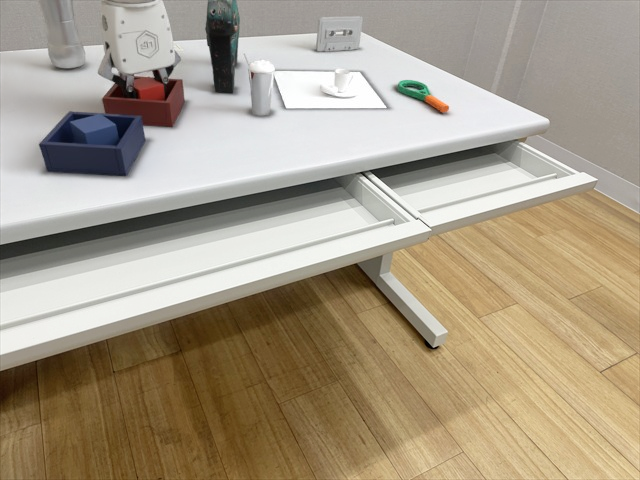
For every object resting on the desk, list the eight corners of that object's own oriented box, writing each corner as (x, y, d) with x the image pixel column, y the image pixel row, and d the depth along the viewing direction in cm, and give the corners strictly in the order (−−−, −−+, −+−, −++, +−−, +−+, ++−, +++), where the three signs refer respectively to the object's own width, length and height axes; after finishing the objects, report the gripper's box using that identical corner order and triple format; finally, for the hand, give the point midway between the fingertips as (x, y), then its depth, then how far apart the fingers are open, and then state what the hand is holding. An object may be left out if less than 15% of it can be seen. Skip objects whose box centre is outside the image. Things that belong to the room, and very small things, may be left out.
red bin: (106, 123, 78) (101, 98, 75) (125, 97, 86) (121, 74, 83) (172, 127, 79) (169, 102, 76) (184, 101, 87) (182, 79, 84)
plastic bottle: (45, 66, 95) (13, -50, 82) (76, 58, 99) (50, -52, 87) (64, 74, 92) (34, -44, 80) (95, 66, 97) (71, -47, 84)
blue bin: (47, 171, 65) (38, 143, 62) (75, 136, 73) (69, 111, 71) (126, 175, 66) (121, 148, 63) (145, 140, 74) (141, 115, 71)
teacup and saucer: (321, 99, 93) (323, 78, 91) (314, 84, 99) (315, 64, 97) (364, 99, 95) (367, 79, 93) (354, 84, 101) (356, 65, 99)
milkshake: (248, 105, 88) (248, 49, 82) (276, 109, 88) (278, 54, 81) (240, 114, 85) (239, 57, 78) (269, 119, 84) (270, 62, 78)
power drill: (237, 97, 91) (235, -20, 78) (203, 95, 90) (195, -24, 77) (244, 62, 106) (242, -40, 94) (214, 60, 105) (209, -43, 93)
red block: (143, 116, 79) (139, 90, 77) (129, 107, 82) (124, 81, 79) (166, 109, 82) (163, 84, 79) (152, 101, 84) (148, 76, 82)
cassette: (318, 52, 116) (320, 18, 112) (314, 49, 118) (317, 16, 113) (360, 49, 121) (364, 17, 116) (356, 47, 122) (360, 15, 118)
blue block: (91, 162, 67) (84, 133, 64) (76, 150, 69) (69, 121, 66) (121, 153, 69) (116, 124, 67) (106, 141, 72) (100, 113, 69)
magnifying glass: (392, 86, 102) (393, 78, 101) (415, 84, 104) (417, 76, 103) (431, 115, 92) (433, 106, 91) (456, 112, 94) (458, 104, 93)
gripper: (86, 2, 63) (112, 128, 75) (192, -9, 74) (201, 103, 85) (61, -10, 67) (89, 112, 79) (165, -19, 77) (177, 90, 89)
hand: (147, 106), depth 82 cm, fingers closed on red block, 4 cm apart
